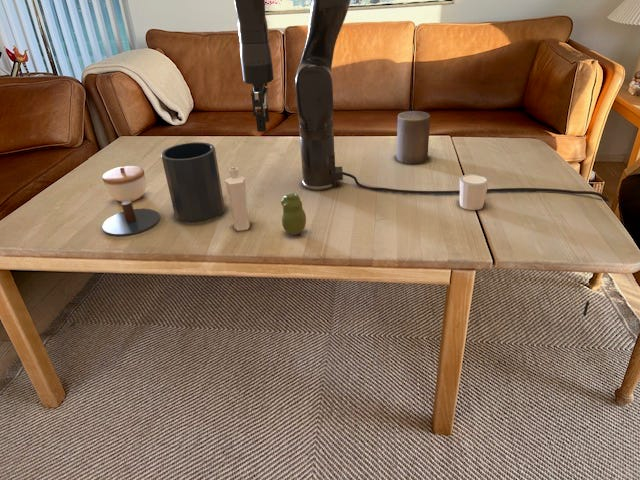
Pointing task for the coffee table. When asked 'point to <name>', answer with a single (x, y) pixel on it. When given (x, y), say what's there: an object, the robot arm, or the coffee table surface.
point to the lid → (130, 221)
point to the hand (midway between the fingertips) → (263, 126)
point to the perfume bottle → (237, 199)
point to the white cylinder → (473, 191)
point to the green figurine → (293, 214)
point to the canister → (193, 181)
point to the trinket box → (125, 183)
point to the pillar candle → (413, 137)
